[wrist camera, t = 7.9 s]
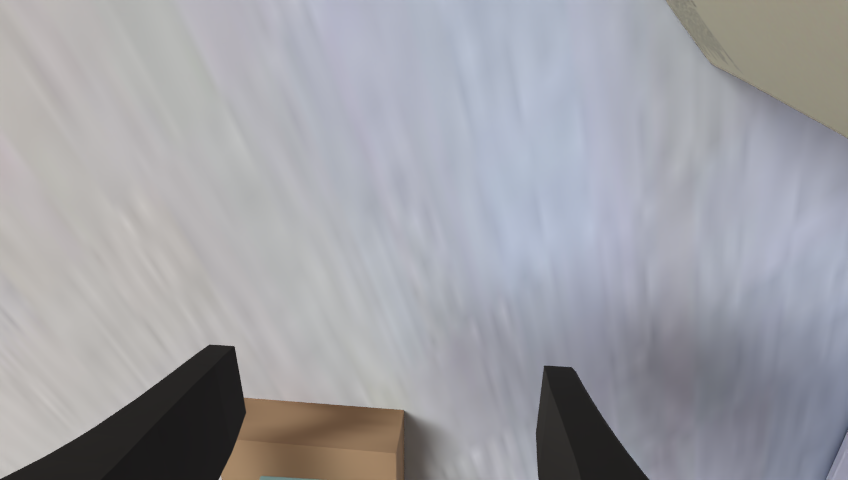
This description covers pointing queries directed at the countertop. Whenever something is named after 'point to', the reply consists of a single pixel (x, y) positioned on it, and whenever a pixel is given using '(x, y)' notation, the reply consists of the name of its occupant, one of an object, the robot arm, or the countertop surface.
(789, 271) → the countertop surface
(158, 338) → the countertop surface
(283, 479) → the teal block
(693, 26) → the box
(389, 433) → the tan wooden block
